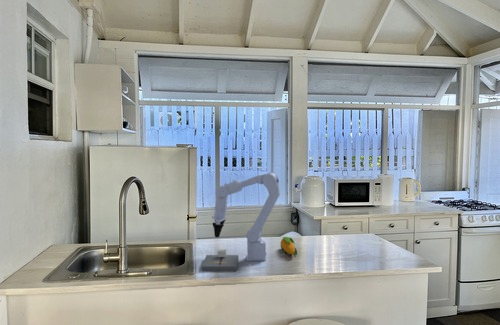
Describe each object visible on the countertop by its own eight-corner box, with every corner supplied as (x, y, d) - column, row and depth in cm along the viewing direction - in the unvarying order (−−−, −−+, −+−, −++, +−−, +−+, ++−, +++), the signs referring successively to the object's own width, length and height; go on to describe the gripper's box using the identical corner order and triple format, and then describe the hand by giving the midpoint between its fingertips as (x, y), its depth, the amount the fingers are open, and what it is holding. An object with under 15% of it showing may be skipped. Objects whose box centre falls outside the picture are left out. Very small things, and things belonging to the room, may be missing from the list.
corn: (291, 233, 188) (300, 243, 168) (292, 246, 188) (301, 258, 168) (278, 234, 187) (285, 245, 167) (279, 248, 187) (286, 260, 168)
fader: (226, 255, 166) (226, 249, 166) (225, 257, 164) (225, 250, 164) (218, 255, 166) (218, 249, 166) (217, 257, 164) (217, 250, 164)
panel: (238, 259, 168) (238, 254, 168) (236, 270, 152) (236, 266, 152) (206, 259, 168) (206, 254, 168) (201, 270, 152) (201, 266, 152)
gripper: (214, 205, 179) (211, 230, 180) (211, 211, 165) (208, 238, 166) (227, 206, 179) (224, 231, 180) (225, 212, 165) (222, 239, 166)
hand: (217, 234), depth 173 cm, fingers open, 7 cm apart
